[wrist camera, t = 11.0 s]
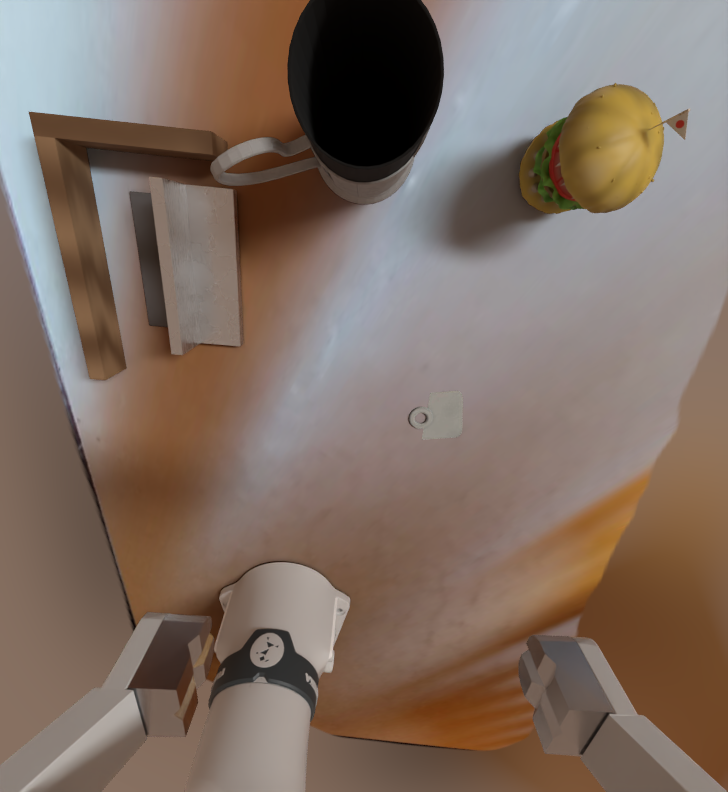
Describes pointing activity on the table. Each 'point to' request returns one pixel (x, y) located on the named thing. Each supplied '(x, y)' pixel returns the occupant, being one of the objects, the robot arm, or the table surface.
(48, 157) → the brown wooden l-shaped piece
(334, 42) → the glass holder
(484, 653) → the table surface
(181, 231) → the angle bracket
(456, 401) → the grey piece
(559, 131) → the hamburger
